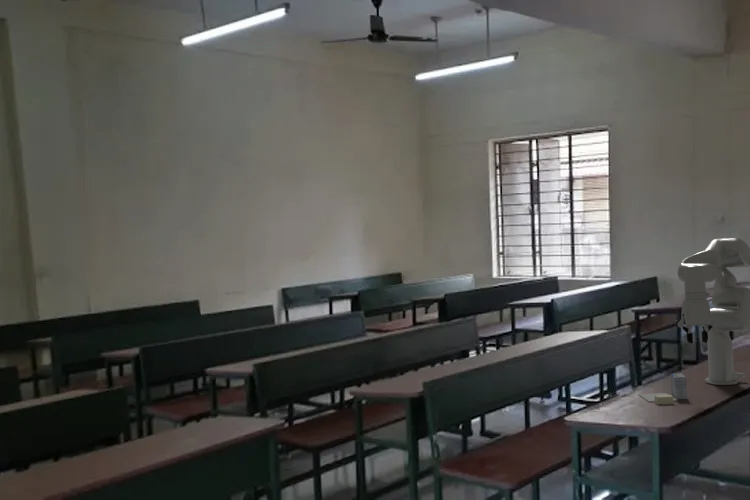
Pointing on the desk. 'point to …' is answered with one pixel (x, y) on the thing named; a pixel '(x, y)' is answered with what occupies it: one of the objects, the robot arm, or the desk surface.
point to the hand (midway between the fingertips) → (697, 342)
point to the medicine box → (679, 386)
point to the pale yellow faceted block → (664, 399)
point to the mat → (652, 396)
